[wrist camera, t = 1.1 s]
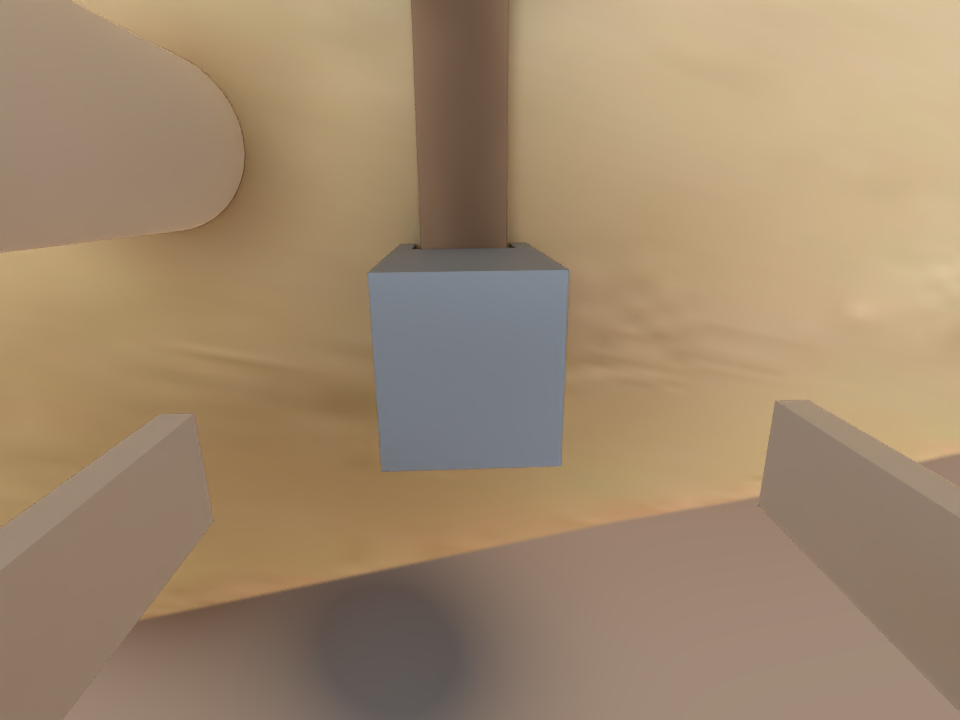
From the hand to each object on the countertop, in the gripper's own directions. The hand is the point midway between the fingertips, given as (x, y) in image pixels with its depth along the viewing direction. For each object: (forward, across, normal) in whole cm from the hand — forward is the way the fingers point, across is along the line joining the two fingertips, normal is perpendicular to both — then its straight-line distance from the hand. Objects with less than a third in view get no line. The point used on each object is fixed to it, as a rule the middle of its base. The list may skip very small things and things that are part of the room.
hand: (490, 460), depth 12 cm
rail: (+17, 0, +6) cm, 18 cm away
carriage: (+17, 0, 0) cm, 17 cm away
